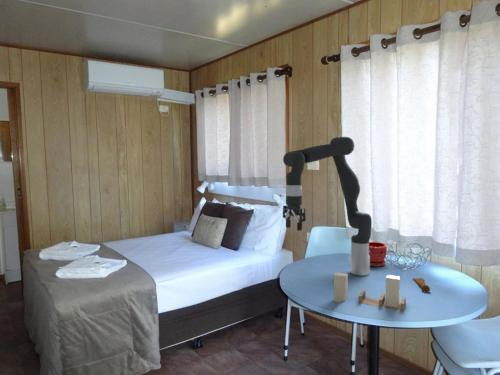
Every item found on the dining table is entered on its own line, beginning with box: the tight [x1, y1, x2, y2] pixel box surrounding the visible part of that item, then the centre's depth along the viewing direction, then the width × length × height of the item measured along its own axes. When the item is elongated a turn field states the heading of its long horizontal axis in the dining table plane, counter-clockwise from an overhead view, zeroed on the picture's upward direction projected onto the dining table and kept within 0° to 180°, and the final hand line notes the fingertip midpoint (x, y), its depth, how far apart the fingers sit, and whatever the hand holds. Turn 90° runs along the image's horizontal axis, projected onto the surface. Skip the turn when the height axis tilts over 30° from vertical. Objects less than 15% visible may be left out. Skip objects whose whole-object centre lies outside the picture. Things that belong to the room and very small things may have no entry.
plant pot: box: [369, 241, 388, 267], centre depth 210 cm, size 13×13×12 cm
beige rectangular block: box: [333, 271, 349, 304], centre depth 156 cm, size 4×5×12 cm
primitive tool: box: [412, 277, 431, 293], centre depth 176 cm, size 19×6×4 cm, turn 169°
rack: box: [358, 289, 407, 312], centre depth 151 cm, size 8×18×4 cm, turn 61°
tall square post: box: [385, 274, 401, 308], centre depth 149 cm, size 4×5×12 cm
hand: (293, 228), depth 168 cm, fingers open, 8 cm apart
